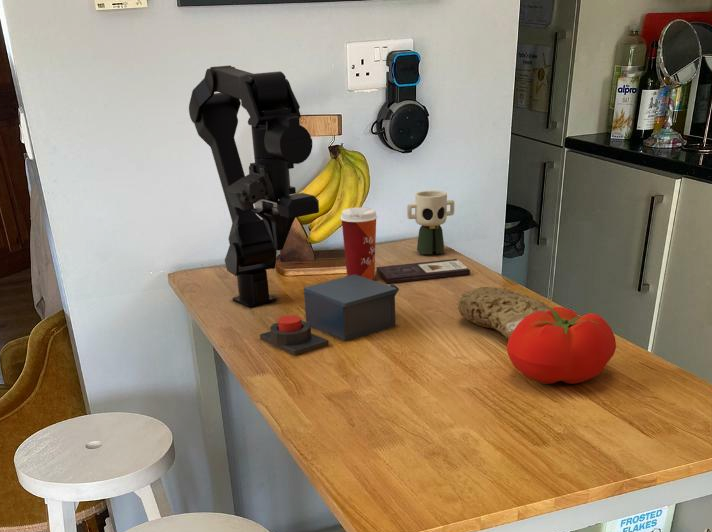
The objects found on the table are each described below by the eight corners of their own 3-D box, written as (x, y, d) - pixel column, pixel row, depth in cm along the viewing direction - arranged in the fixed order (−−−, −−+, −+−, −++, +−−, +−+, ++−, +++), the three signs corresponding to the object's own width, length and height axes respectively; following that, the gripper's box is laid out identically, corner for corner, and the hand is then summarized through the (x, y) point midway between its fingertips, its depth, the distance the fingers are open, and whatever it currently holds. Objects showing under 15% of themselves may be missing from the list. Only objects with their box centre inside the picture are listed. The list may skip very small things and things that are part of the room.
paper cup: (375, 285, 172) (373, 215, 165) (339, 284, 173) (336, 215, 166) (382, 274, 178) (380, 206, 171) (347, 273, 180) (344, 206, 172)
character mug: (411, 259, 188) (411, 198, 181) (403, 251, 193) (403, 192, 187) (458, 254, 189) (459, 194, 182) (448, 247, 195) (450, 188, 188)
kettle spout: (401, 310, 154) (400, 283, 152) (380, 316, 152) (379, 289, 149) (394, 307, 155) (394, 281, 153) (374, 313, 153) (373, 287, 150)
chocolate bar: (376, 267, 180) (456, 258, 182) (376, 271, 180) (456, 263, 183) (386, 278, 172) (469, 269, 175) (387, 283, 173) (469, 274, 175)
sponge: (565, 349, 141) (517, 292, 155) (566, 310, 136) (516, 254, 149) (493, 372, 140) (451, 313, 154) (491, 333, 135) (447, 275, 148)
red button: (274, 329, 144) (273, 319, 144) (293, 323, 146) (292, 313, 146) (287, 334, 142) (286, 324, 141) (306, 329, 144) (305, 319, 143)
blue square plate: (397, 292, 147) (397, 288, 147) (345, 307, 141) (345, 303, 141) (354, 277, 156) (354, 274, 155) (303, 291, 150) (303, 287, 149)
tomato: (487, 373, 131) (490, 312, 125) (567, 351, 137) (573, 292, 132) (548, 405, 120) (554, 340, 115) (632, 380, 126) (641, 316, 121)
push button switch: (258, 340, 148) (256, 323, 146) (292, 330, 151) (291, 313, 150) (293, 357, 140) (291, 340, 138) (328, 345, 144) (327, 329, 142)
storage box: (395, 325, 151) (394, 291, 148) (344, 341, 145) (342, 306, 142) (356, 310, 159) (354, 278, 156) (306, 325, 153) (303, 291, 150)
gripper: (202, 156, 143) (213, 249, 151) (260, 169, 130) (269, 269, 139) (257, 148, 149) (265, 237, 157) (318, 159, 136) (323, 256, 144)
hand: (279, 249), depth 149 cm, fingers closed
